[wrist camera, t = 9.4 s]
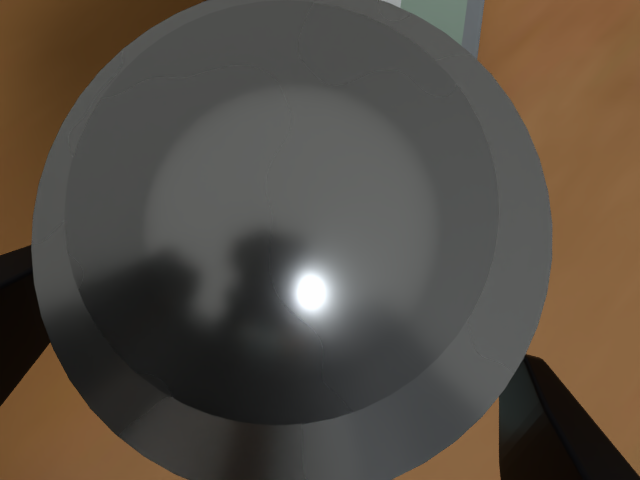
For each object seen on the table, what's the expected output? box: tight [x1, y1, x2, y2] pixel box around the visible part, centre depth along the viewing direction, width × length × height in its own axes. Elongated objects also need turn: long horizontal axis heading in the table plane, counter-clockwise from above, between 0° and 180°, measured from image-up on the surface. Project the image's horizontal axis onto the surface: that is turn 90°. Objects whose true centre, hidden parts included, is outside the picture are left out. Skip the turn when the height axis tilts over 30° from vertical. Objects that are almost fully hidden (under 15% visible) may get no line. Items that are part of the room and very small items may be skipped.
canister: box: [31, 0, 552, 480], centre depth 11 cm, size 6×6×14 cm
